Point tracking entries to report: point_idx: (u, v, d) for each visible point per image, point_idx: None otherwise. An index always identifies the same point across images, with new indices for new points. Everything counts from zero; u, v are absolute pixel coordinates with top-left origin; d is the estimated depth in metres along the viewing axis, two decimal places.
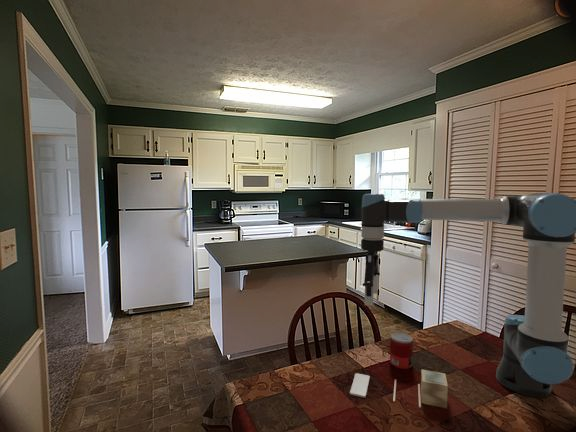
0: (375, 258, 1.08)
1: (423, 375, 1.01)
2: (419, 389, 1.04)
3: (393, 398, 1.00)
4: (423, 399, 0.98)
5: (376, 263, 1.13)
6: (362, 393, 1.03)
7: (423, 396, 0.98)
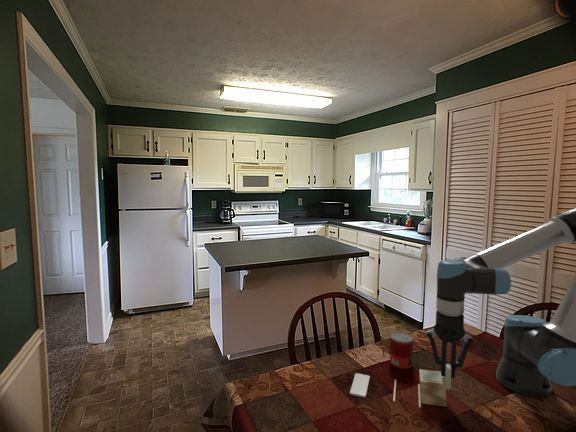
0: (442, 335, 0.96)
1: (421, 375, 1.01)
2: (419, 389, 1.04)
3: (393, 398, 1.00)
4: (423, 399, 0.98)
5: (451, 344, 0.96)
6: (362, 393, 1.03)
7: (422, 396, 0.98)
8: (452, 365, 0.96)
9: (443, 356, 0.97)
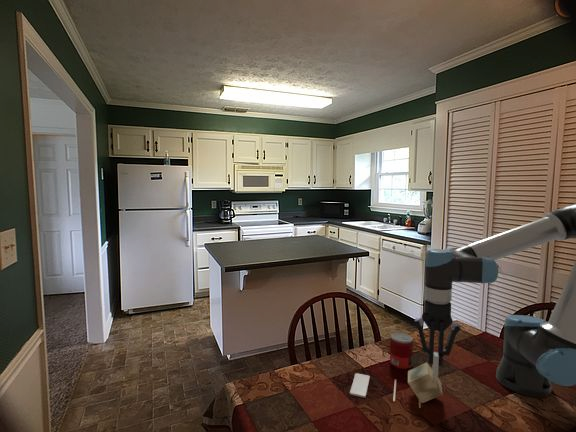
0: (430, 323, 0.97)
1: (409, 376, 1.02)
2: None
3: (393, 398, 1.00)
4: (421, 399, 0.98)
5: (439, 332, 0.97)
6: (362, 393, 1.03)
7: (418, 396, 0.98)
8: (439, 353, 0.97)
9: (431, 344, 0.98)
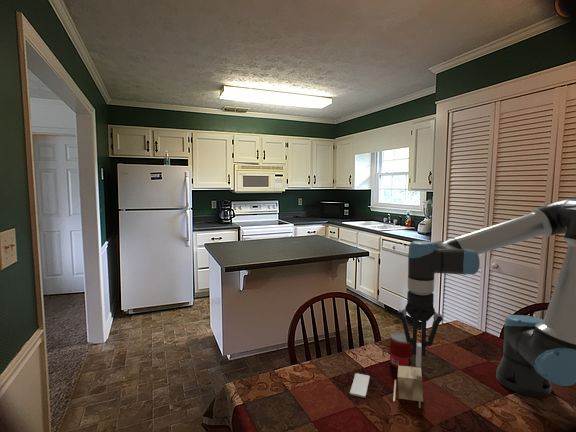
0: (413, 313, 0.99)
1: None
2: None
3: (393, 398, 1.00)
4: (419, 399, 0.98)
5: (422, 323, 0.98)
6: (362, 393, 1.03)
7: (415, 399, 0.99)
8: (422, 343, 0.99)
9: (414, 334, 1.00)
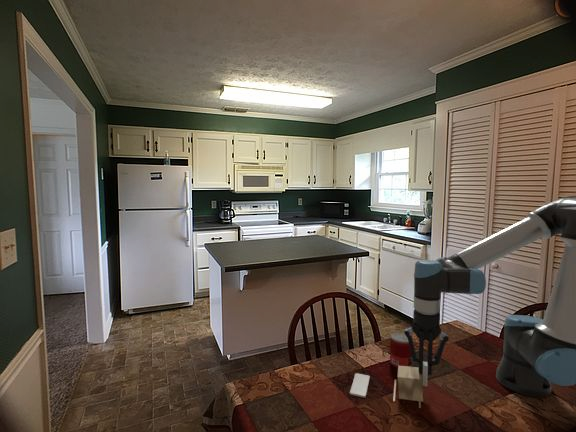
0: (419, 333, 0.99)
1: None
2: None
3: (393, 398, 1.00)
4: (419, 399, 0.98)
5: (428, 342, 0.98)
6: (362, 393, 1.03)
7: (415, 399, 0.99)
8: (429, 362, 0.99)
9: (420, 354, 0.99)
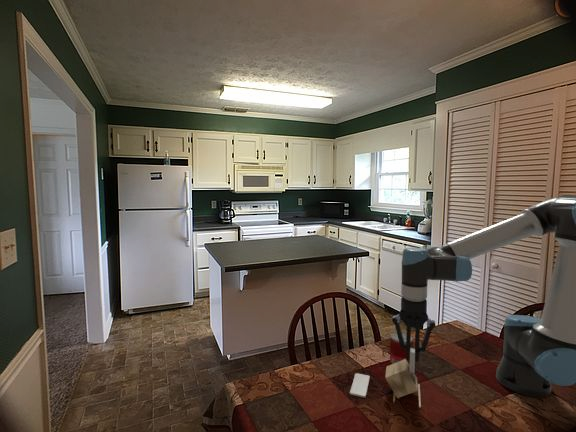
0: (406, 320, 1.00)
1: None
2: (419, 389, 1.04)
3: (393, 398, 1.00)
4: (413, 390, 0.99)
5: (415, 329, 0.99)
6: (362, 393, 1.03)
7: (410, 391, 0.99)
8: (416, 349, 1.00)
9: (407, 340, 1.00)
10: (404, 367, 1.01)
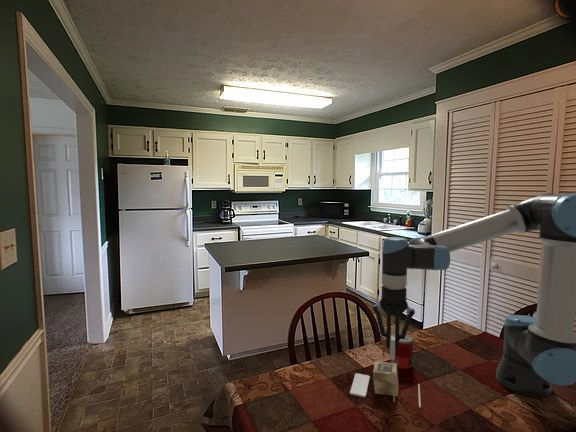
0: (387, 308, 1.02)
1: None
2: (419, 389, 1.04)
3: (393, 398, 1.00)
4: (394, 377, 1.00)
5: (395, 317, 1.01)
6: (362, 393, 1.03)
7: (394, 381, 1.00)
8: (396, 337, 1.02)
9: (388, 328, 1.02)
10: (373, 370, 1.04)
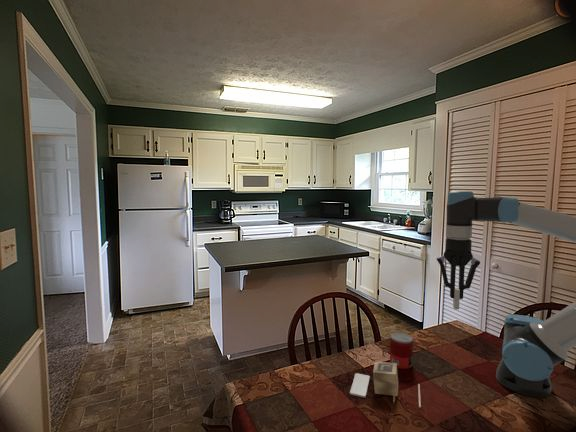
0: (452, 259, 1.05)
1: None
2: (419, 389, 1.04)
3: (393, 398, 1.00)
4: (394, 377, 1.00)
5: (460, 267, 1.05)
6: (362, 393, 1.03)
7: (394, 381, 1.00)
8: (460, 287, 1.05)
9: (452, 279, 1.06)
10: (373, 370, 1.04)
